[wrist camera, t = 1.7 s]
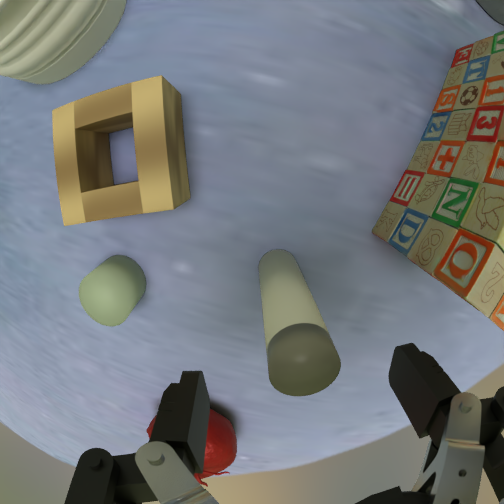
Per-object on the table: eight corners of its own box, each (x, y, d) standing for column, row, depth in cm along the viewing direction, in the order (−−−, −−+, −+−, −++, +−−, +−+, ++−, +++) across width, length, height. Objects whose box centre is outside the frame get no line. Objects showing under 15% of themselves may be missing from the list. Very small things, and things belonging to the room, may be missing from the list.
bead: (95, 257, 22) (72, 274, 18) (140, 252, 22) (120, 270, 18) (108, 303, 23) (89, 325, 19) (151, 301, 23) (135, 326, 19)
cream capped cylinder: (257, 251, 22) (266, 347, 10) (296, 247, 22) (343, 338, 10) (259, 287, 23) (270, 399, 11) (297, 283, 23) (337, 390, 11)
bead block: (87, 117, 18) (52, 110, 13) (180, 93, 18) (161, 75, 13) (97, 211, 21) (64, 226, 16) (190, 198, 20) (173, 209, 16)
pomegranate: (210, 381, 26) (201, 455, 17) (253, 432, 29) (256, 496, 20) (136, 402, 27) (113, 464, 18) (184, 448, 30) (176, 505, 21)
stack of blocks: (454, 47, 16) (541, 18, 4) (492, 89, 17) (578, 82, 5) (369, 233, 22) (466, 302, 10) (417, 265, 23) (507, 336, 11)
